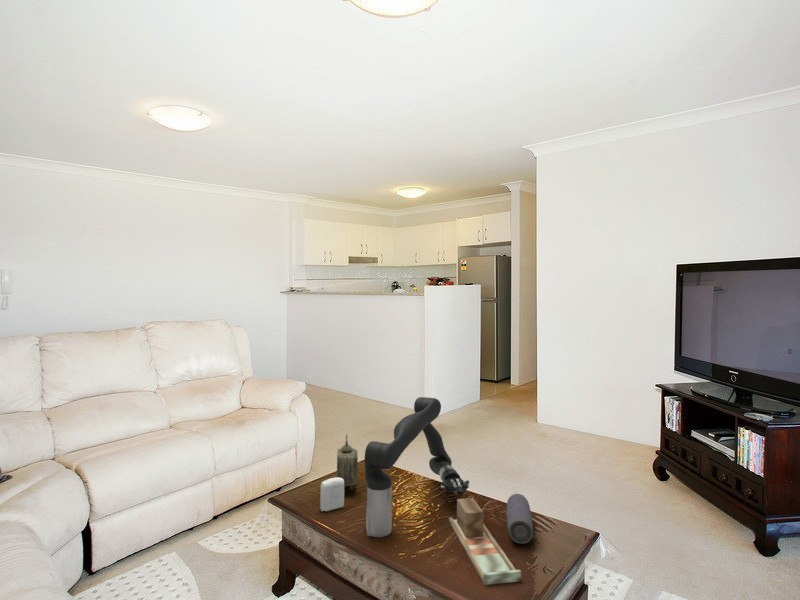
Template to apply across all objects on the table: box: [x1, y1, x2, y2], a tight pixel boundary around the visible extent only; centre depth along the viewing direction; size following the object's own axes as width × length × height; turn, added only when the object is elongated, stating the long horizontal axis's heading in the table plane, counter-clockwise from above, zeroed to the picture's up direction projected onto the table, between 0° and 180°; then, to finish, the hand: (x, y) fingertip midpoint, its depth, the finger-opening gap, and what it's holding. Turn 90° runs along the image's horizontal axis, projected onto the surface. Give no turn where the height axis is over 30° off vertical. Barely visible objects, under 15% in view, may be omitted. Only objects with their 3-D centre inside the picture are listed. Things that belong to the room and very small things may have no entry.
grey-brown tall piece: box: [336, 434, 359, 490], centre depth 210 cm, size 14×9×25 cm, turn 6°
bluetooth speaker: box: [505, 493, 534, 544], centre depth 173 cm, size 23×9×10 cm, turn 168°
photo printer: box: [319, 476, 345, 512], centre depth 192 cm, size 10×4×12 cm, turn 123°
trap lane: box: [448, 516, 522, 586], centre depth 162 cm, size 12×41×3 cm, turn 9°
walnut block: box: [456, 497, 484, 538], centre depth 174 cm, size 6×12×9 cm, turn 9°
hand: (461, 493), depth 186 cm, fingers closed
